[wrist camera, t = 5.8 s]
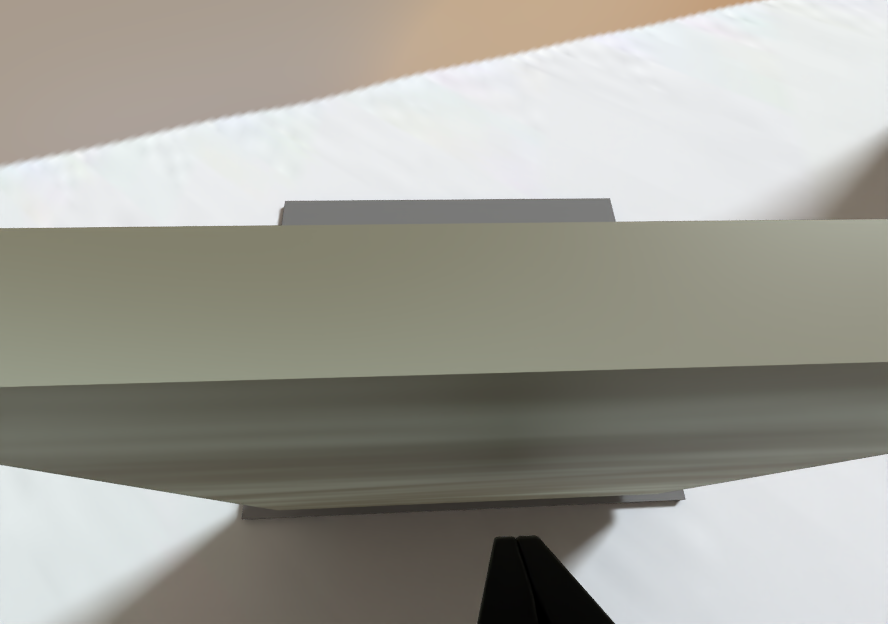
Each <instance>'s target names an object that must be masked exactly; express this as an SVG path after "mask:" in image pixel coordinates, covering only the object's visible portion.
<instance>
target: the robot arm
mask: <svg viewBox="0 0 888 624" xmlns="http://www.w3.org/2000/svg"><path fill="white" fill-rule="evenodd" d="M477 624H615V623H614V622H613V621H612V620H611V619H610V617H609V616H608V615H607V614H606V613H605V612H604V611H603V609H602V608H601V607H600V606H599V605H598V604H597V603H596V602H595V600H594V599H593V598H592V597H591V596H590V595H589V594H588V592H587V591H586V590H585V589H584V588H583V587H582V586H581V585H580V583H579V582H578V581H577V580H576V579H575V578H574V577H573V575H572V574H571V573H570V572H569V571H568V570H567V569H566V568H565V566H564V565H563V564H562V563H561V562H560V561H559V560H558V558H557V557H556V556H555V555H554V554H553V553H552V552H551V551H550V549H549V548H548V547H547V546H546V545H545V544H544V543H543V542H542V540H541V539H540V538H539V537H537V536H535V535H532V536H518V537H517V538H516V539H515V537H513V536H509V537H496V538H495V539H494V542H493V547H492V552H491V557H490V562H489V567H488V572H487V577H486V582H485V587H484V592H483V597H482V602H481V607H480V612H479V617H478V622H477Z"/></svg>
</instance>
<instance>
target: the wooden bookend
mask: <svg viewBox="0 0 888 624" xmlns="http://www.w3.org/2000/svg"><path fill="white" fill-rule="evenodd" d="M884 454H888V219H832V220H739V221H646V222H553V223H460V224H366V225H273V226H180V227H87V228H0V465H5V466H11V467H17V468H23V469H29V470H35V471H42V472H48V473H54V474H60V475H66V476H72V477H78V478H84V479H90V480H96V481H102V482H108V483H114V484H120V485H127V486H133V487H139V488H145V489H151V490H157V491H163V492H169V493H175V494H181V495H187V496H193V497H199V498H206V499H212V500H218V501H224V502H230V503H236V504H242V505H248V506H254V507H260V508H266V509H272V510H298V509H321V508H344V507H367V506H390V505H413V504H437V503H460V502H483V501H506V500H529V499H552V498H575V497H598V496H621V495H644V494H660V493H665V492H671V491H677V490H683V489H688V488H694V487H700V486H706V485H711V484H717V483H723V482H729V481H734V480H740V479H746V478H752V477H757V476H763V475H769V474H775V473H780V472H786V471H792V470H798V469H803V468H809V467H815V466H821V465H826V464H832V463H838V462H843V461H849V460H855V459H861V458H866V457H872V456H878V455H884Z"/></svg>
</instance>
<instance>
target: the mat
mask: <svg viewBox="0 0 888 624" xmlns="http://www.w3.org/2000/svg"><path fill="white" fill-rule="evenodd" d="M553 222H616V221H615V217H614V213H613V209H612V205H611V201H610V198H604V199H478V200H352V201H285V205H284V213H283V220H282V225H366V224H460V223H553ZM670 500H685V495H684V491H683V490H677V491H671V492H665V493H660V494H644V495H621V496H598V497H575V498H552V499H529V500H506V501H483V502H460V503H437V504H413V505H390V506H367V507H344V508H321V509H298V510H272V509H266V508H260V507H254V506H248V505H244V506H243V513H242V519H263V518H286V517H308V516H331V515H354V514H376V513H399V512H421V511H444V510H467V509H489V508H512V507H535V506H557V505H580V504H603V503H625V502H648V501H670Z"/></svg>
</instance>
